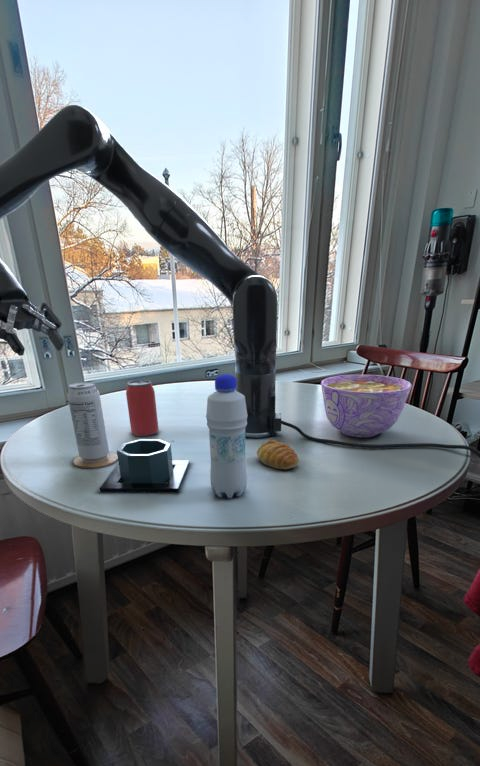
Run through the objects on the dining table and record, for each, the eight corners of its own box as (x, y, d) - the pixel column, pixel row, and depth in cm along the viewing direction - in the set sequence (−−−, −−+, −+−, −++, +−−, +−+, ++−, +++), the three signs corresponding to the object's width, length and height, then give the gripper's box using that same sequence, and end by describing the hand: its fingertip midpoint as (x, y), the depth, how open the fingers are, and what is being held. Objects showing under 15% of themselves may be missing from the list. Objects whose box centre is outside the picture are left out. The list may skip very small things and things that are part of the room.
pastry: (307, 467, 90) (308, 448, 88) (279, 474, 87) (279, 455, 85) (279, 453, 97) (279, 436, 95) (252, 460, 94) (252, 442, 92)
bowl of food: (308, 440, 104) (311, 388, 99) (327, 418, 120) (331, 372, 115) (399, 450, 98) (408, 395, 92) (407, 424, 114) (414, 376, 108)
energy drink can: (114, 454, 97) (103, 382, 90) (101, 464, 92) (87, 388, 85) (89, 452, 98) (76, 381, 91) (74, 462, 93) (59, 387, 86)
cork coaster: (123, 453, 99) (122, 451, 99) (111, 468, 91) (110, 466, 91) (82, 453, 99) (82, 451, 99) (66, 468, 92) (66, 466, 91)
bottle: (209, 486, 83) (203, 371, 73) (246, 484, 83) (245, 369, 73) (210, 502, 77) (204, 379, 67) (250, 500, 77) (249, 378, 68)
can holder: (189, 464, 93) (187, 435, 90) (178, 492, 80) (175, 460, 77) (121, 463, 93) (117, 435, 90) (100, 492, 81) (94, 460, 78)
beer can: (161, 429, 114) (156, 379, 108) (154, 437, 108) (149, 385, 103) (136, 428, 115) (129, 379, 109) (128, 436, 109) (120, 385, 103)
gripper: (-36, 270, 84) (12, 340, 84) (34, 270, 94) (78, 333, 94) (-41, 301, 90) (5, 368, 89) (27, 298, 100) (68, 358, 99)
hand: (42, 350), depth 91 cm, fingers open, 8 cm apart
